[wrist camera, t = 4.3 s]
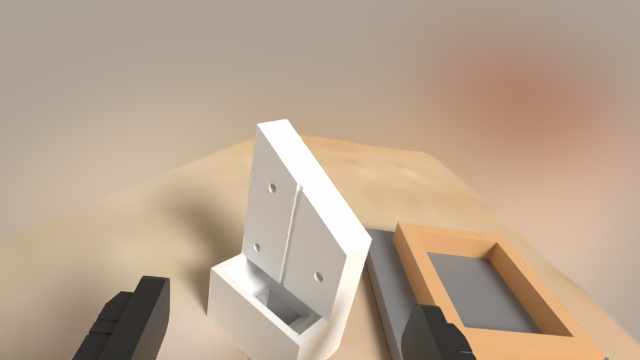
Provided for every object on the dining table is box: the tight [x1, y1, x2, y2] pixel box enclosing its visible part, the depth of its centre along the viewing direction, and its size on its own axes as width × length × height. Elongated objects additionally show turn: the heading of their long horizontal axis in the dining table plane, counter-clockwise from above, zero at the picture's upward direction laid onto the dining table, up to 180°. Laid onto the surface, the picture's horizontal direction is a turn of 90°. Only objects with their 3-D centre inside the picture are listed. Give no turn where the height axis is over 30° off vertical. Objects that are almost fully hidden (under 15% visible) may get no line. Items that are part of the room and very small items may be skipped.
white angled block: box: [207, 119, 372, 360], centre depth 18 cm, size 4×10×9 cm, turn 50°
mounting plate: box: [364, 222, 609, 360], centre depth 23 cm, size 12×12×2 cm
